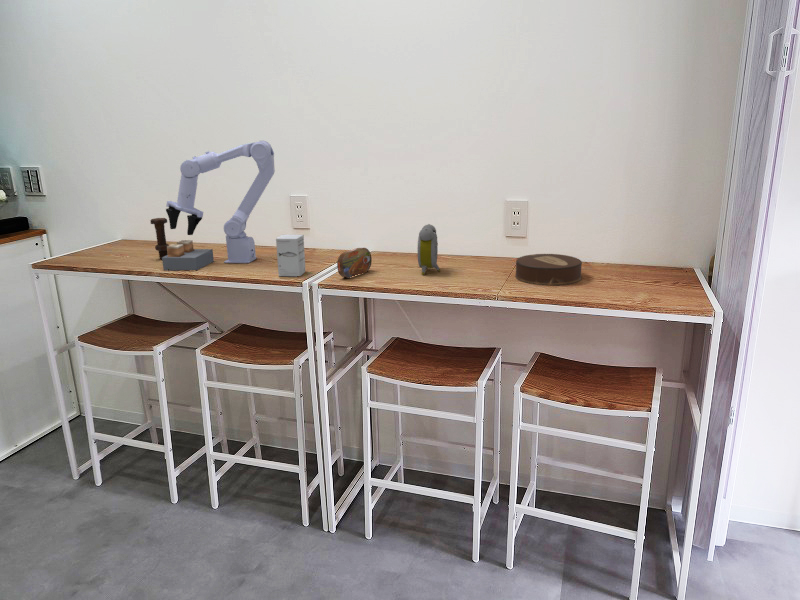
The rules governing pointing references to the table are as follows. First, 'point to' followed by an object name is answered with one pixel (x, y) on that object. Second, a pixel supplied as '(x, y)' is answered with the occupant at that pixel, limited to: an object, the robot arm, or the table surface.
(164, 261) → the socket block
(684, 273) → the table surface
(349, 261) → the tin
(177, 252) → the tan cube
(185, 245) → the tan wooden cube
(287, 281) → the table surface
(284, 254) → the supplement box
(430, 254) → the grey upright figure
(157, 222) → the bolt
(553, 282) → the container
